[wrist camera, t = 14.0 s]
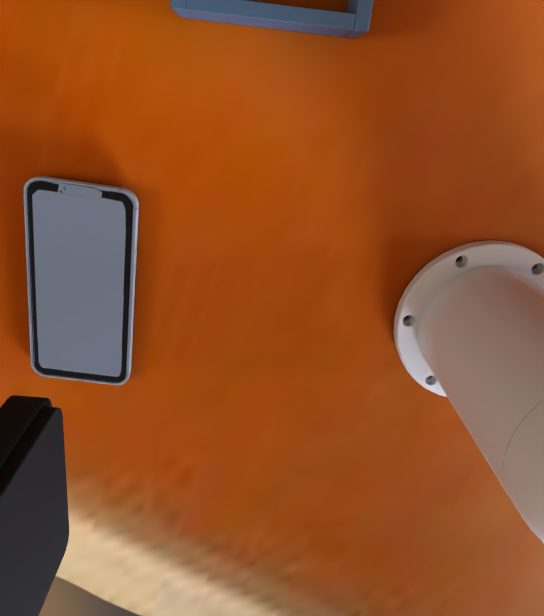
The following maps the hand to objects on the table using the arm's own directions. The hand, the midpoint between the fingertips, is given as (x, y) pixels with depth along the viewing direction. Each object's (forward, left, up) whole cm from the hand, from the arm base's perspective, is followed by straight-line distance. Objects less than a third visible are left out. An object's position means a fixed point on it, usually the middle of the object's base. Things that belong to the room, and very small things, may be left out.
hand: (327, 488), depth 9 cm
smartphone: (+13, +8, -28) cm, 32 cm away
